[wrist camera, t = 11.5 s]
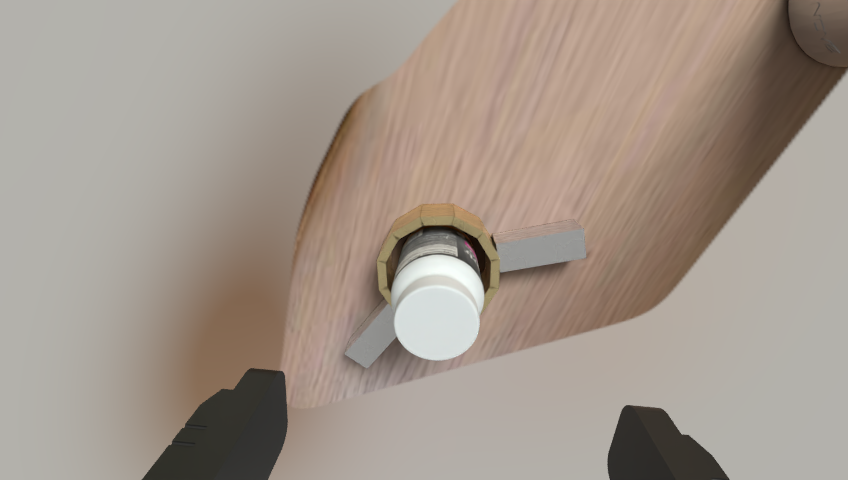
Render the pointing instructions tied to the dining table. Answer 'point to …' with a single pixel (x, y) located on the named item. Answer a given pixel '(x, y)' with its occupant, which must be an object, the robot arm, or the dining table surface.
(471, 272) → the pill bottle
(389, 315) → the stand
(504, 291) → the dining table surface
